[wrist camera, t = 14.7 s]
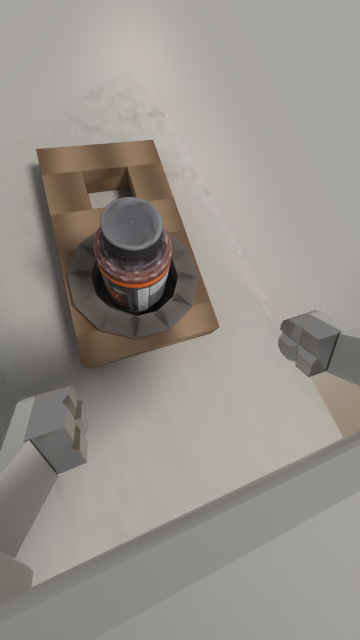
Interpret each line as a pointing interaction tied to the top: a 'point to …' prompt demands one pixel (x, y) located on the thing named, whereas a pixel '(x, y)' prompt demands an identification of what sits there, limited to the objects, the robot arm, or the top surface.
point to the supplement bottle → (133, 253)
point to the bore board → (80, 264)
